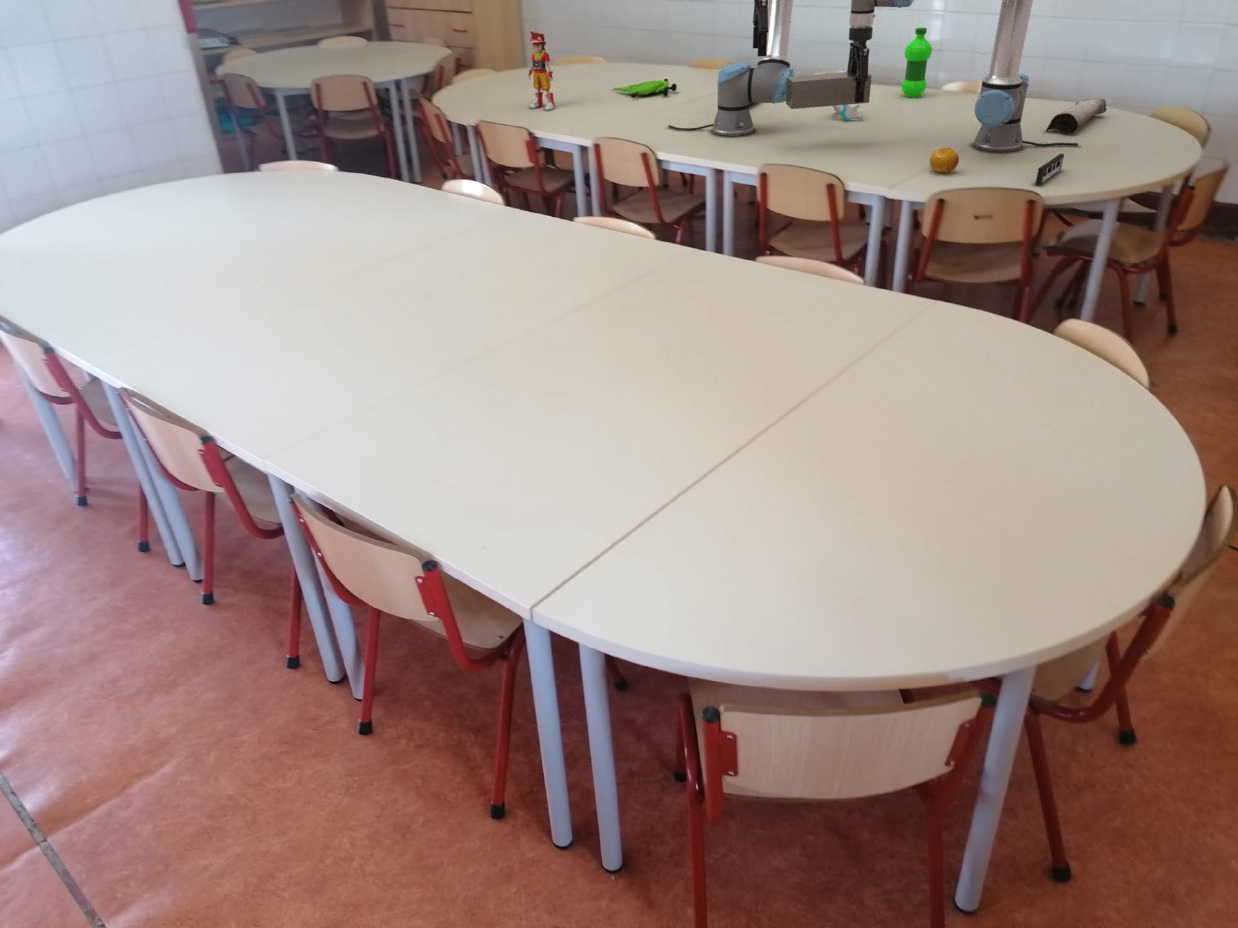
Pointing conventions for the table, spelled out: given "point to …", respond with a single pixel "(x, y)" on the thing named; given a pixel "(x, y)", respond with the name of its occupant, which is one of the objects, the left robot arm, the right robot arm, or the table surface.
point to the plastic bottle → (916, 64)
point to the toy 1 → (541, 71)
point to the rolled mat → (1077, 115)
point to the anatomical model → (848, 112)
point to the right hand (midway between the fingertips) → (855, 99)
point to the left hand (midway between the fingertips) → (759, 52)
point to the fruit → (944, 160)
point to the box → (824, 90)
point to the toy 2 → (648, 88)
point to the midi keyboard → (1049, 169)
